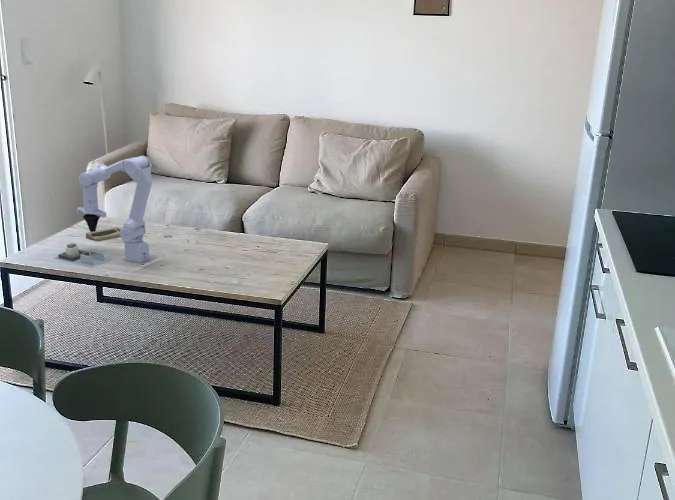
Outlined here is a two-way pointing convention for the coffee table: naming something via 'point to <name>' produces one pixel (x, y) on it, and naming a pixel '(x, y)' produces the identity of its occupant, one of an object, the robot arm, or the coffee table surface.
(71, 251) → the plug
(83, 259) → the plate with twin rails
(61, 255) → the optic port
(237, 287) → the coffee table surface
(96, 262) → the panel board
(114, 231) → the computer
